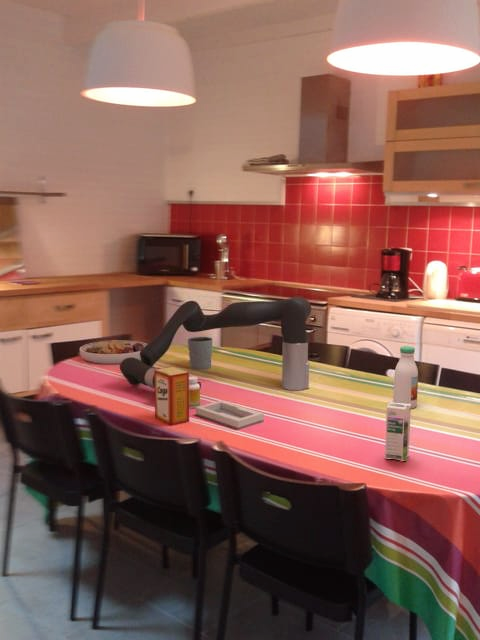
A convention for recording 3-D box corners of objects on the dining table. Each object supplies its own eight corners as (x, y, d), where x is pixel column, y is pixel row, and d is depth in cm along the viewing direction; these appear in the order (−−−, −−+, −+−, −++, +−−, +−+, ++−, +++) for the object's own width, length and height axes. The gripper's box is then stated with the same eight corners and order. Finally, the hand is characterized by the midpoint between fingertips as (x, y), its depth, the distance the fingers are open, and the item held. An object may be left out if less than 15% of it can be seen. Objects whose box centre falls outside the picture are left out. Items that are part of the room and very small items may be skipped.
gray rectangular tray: (196, 415, 214) (195, 407, 214) (221, 408, 222) (221, 400, 221) (238, 429, 200) (238, 421, 200) (263, 421, 208) (263, 413, 208)
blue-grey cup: (217, 366, 279) (217, 338, 277) (203, 371, 270) (202, 342, 268) (197, 363, 284) (197, 335, 282) (182, 368, 276) (182, 339, 274)
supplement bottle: (202, 405, 225) (202, 376, 223) (195, 409, 220) (194, 380, 219) (188, 403, 227) (188, 375, 226) (180, 407, 223) (180, 378, 221)
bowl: (65, 362, 287) (65, 344, 285) (105, 348, 314) (104, 332, 313) (126, 368, 276) (126, 350, 274) (161, 354, 303) (161, 337, 302)
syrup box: (384, 459, 177) (386, 406, 175) (387, 452, 183) (389, 400, 180) (406, 462, 175) (408, 409, 173) (409, 455, 181) (411, 403, 178)
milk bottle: (403, 410, 220) (406, 350, 217) (388, 404, 227) (390, 346, 223) (421, 407, 223) (424, 348, 220) (405, 401, 230) (408, 344, 227)
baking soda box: (155, 418, 211) (154, 368, 209) (172, 414, 215) (172, 365, 212) (171, 425, 204) (170, 374, 201) (189, 421, 208) (188, 371, 205)
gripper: (143, 372, 229) (173, 381, 218) (176, 365, 239) (206, 373, 228) (144, 393, 230) (174, 403, 219) (176, 386, 240) (206, 395, 229)
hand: (190, 388), depth 223 cm, fingers open, 8 cm apart
